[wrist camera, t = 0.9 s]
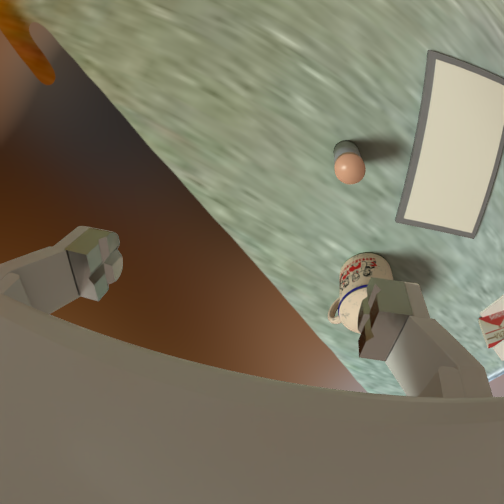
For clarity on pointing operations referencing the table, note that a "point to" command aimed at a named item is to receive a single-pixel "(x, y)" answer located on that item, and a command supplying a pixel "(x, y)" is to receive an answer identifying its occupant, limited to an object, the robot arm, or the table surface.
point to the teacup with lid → (356, 287)
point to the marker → (348, 162)
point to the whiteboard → (454, 148)
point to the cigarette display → (494, 326)
